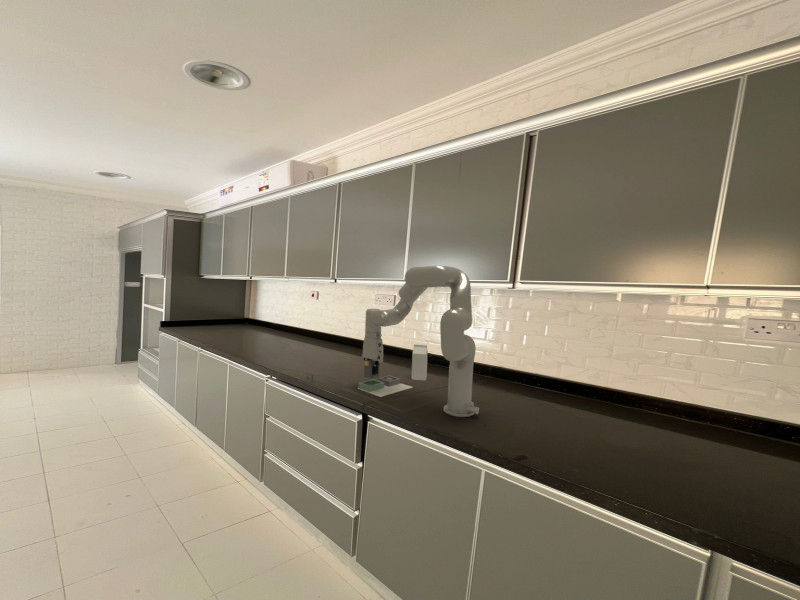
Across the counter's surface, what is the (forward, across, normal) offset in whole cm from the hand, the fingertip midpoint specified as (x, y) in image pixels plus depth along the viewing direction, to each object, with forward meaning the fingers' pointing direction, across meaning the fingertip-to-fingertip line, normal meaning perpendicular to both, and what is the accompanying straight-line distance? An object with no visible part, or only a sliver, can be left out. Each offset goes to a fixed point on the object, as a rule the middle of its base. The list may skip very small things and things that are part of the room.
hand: (371, 372), depth 166 cm
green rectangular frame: (+7, 0, 0) cm, 7 cm away
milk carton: (+9, -4, -31) cm, 32 cm away
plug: (+2, 0, 0) cm, 2 cm away
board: (+8, -4, -6) cm, 11 cm away
